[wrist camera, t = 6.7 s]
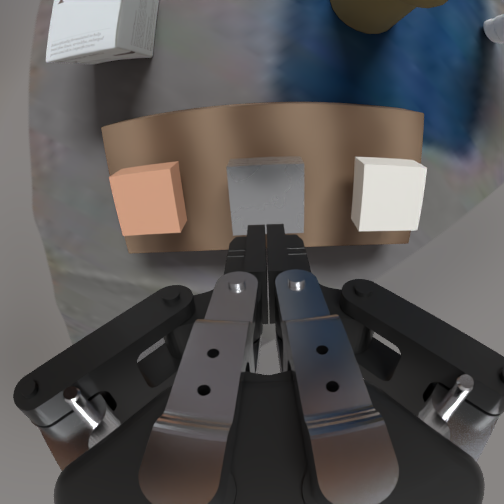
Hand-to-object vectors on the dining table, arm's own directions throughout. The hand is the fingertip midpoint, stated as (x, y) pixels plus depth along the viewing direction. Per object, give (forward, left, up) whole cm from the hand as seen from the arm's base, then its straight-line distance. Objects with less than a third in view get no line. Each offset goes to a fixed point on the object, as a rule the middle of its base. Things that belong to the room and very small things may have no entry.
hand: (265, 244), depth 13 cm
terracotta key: (+8, 0, -8) cm, 11 cm away
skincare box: (+11, -14, -14) cm, 22 cm away
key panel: (0, 0, -13) cm, 13 cm away
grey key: (0, 0, -7) cm, 7 cm away
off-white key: (-8, 0, -7) cm, 11 cm away
